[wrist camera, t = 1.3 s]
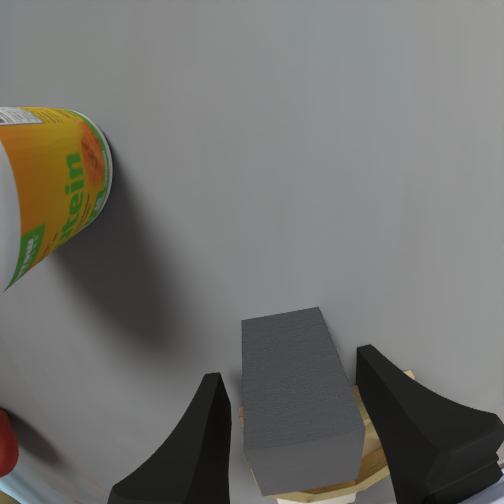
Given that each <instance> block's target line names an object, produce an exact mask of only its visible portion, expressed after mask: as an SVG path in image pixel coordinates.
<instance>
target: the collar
mask: <svg viewBox="0 0 504 504" xmlns="http://www.w3.org/2000/svg"><path fill="white" fill-rule="evenodd" d="M354 398H355V400H356V403H357V405H358V408H359V411H360V413H361V416H362V419H363V422H364V424H365V427H366V432H365V435H366V436H369V437H373V438H376V439H379V437H378V435H377V433H376V431H375V428H374V426H373V424H372V422H371V420H370V417H369V415H368V413H367V411H366V409H365V406H364V404H363V402H362V399H361V396H360V395H357V396H354ZM250 470H251V467H250ZM251 472H252V470H251ZM389 474H390V472H389V468H388V464H387V461H386V458H385V454H384V451H383V448H382V445H380V446H379V447H378V448H376V449H375V450H374V451H372V452H371V453H370V454H368V455H367V456H365V457H364V458H362V459H361V464H360V470H359V475H358V479H354V480H351V481H347V482H342V483H338V484H334V485H329V486H324V487H320V488H314V489H309V490H303V491H297V492H291V493H284V494H277V495H269V496H267V497H272V498H278V499H283V500H289V501H295V502H302V503H312V502H317V501H322V500H327V499H332V498H336V497H341V496H345V495H349V494H353V493H357V492H360V491H363V490H365V489H367V488H368V487H370V486H372V485H373V484H375V483H376V482H378V481H380V480H381V479H383V478H384V477H386V476H387V475H389ZM252 475H253V477H254V474H253V472H252ZM254 479H255V477H254ZM255 482H256V479H255ZM256 484H257V482H256ZM257 487H258V484H257ZM258 489H259V487H258ZM259 491H260V489H259ZM260 493H261V491H260ZM261 495H262V494H261Z"/></svg>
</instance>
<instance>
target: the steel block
mask: <svg viewBox="0 0 504 504" xmlns="http://www.w3.org/2000/svg"><path fill="white" fill-rule="evenodd" d="M242 380H243V427H244V452H245V455H246V457H247V460H248V462H249V465H250V467H251V470H252V472H253V474H254V477H255V479H256V482H257V484H258V487H259V489H260V491H261V494H262V496H269V495H277V494H284V493H291V492H297V491H303V490H309V489H314V488H320V487H324V486H329V485H334V484H338V483H342V482H347V481H351V480H354V479H358V475H359V470H360V464H361V458H362V452H363V446H364V439H365V432H366V427H365V424H364V422H363V419H362V416H361V413H360V411H359V408H358V405H357V403H356V400H355V398H354V395H353V392H352V390H351V387H350V385H349V382H348V379H347V377H346V374H345V372H344V369H343V367H342V364H341V362H340V359H339V356H338V354H337V351H336V349H335V346H334V344H333V341H332V339H331V337H330V334H329V332H328V329H327V327H326V324H325V322H324V319H323V317H322V315H321V312H320V310H319V307H314V308H309V309H303V310H298V311H293V312H287V313H282V314H276V315H270V316H265V317H259V318H253V319H247V320H242Z"/></svg>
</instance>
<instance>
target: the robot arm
mask: <svg viewBox="0 0 504 504" xmlns="http://www.w3.org/2000/svg"><path fill="white" fill-rule="evenodd" d="M356 383H357V386H358V390H359V393H360V396H361V399H362V402H363V404H364V406H365V409H366V411H367V413H368V415H369V417H370V420H371V422H372V424H373V426H374V428H375V431H376V433H377V435H378V437H379V440H380V442H381V445H382V448H383V451H384V454H385V458H386V461H387V464H388V468H389V472H390V476H391V479H392V484H393V488H394V492H395V497H396V502H397V504H504V468H503V469H502V470H501V469H500V467H499V465H498V463H497V461H498V460H499V457H498V455H497V454H496V452H497V450H498V449H499V447H500V446H501V444H502V443H503V441H504V424H503V423H502V421H501V420H500V418H499V417H498V416H497V415H496V414H494V413H489V412H485V411H480V410H476V409H473V408H470V407H467V406H464V405H461V404H458V403H456V402H453V401H451V400H449V399H447V398H444V397H442V396H440V395H438V394H436V393H434V392H433V391H431V390H429V389H427V388H426V387H424V386H422V385H421V384H419V383H418V382H416V381H415V380H414V379H412V378H411V377H409V376H408V375H407V374H405V373H404V372H403V371H401V370H400V369H399V368H398V367H396V366H395V365H394V364H393V363H392V362H390V361H389V360H388V359H387V358H386V357H385V356H383V355H382V354H381V353H380V352H379V351H378V350H377V349H376V348H375V347H373V346H372V345H371V344H369V345H365V346H361V347H357V365H356ZM231 426H232V422H231V404H230V401H229V398H228V395H227V392H226V389H225V386H224V383H223V380H222V377H221V374H220V372H218V373H210V374H205V375H204V377H203V379H202V381H201V384H200V386H199V388H198V390H197V392H196V394H195V396H194V398H193V399H192V401H191V403H190V405H189V407H188V408H187V410H186V412H185V413H184V415H183V417H182V418H181V420H180V421H179V423H178V424H177V426H176V427H175V429H174V430H173V431H172V433H171V434H170V435H169V437H168V438H167V439H166V440H165V442H164V443H163V444H162V445H161V446H160V447H159V448H158V449H157V451H156V452H155V453H154V454H153V455H152V456H151V457H150V458H149V459H148V460H147V461H145V462H144V463H143V464H142V465H141V466H140V467H139V468H137V469H136V470H135V471H134V472H133V473H131V474H130V475H129V476H127V477H126V478H124V479H123V480H121V481H120V482H118V483H117V484H115V485H114V486H113V487H112V490H111V492H110V495H109V499H108V503H107V504H230V497H229V478H228V468H229V454H230V441H231Z"/></svg>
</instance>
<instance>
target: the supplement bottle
mask: <svg viewBox="0 0 504 504" xmlns="http://www.w3.org/2000/svg"><path fill="white" fill-rule="evenodd" d="M112 171H113V168H112V158H111V153H110V150H109V146H108V144H107V141H106V139H105V137H104V135H103V133H102V132H101V130H100V129H99V128H98V127H97V125H96V124H95V123H94V122H93V121H92V120H90V119H89V118H88V117H86V116H85V115H83V114H81V113H79V112H76V111H73V110H69V109H62V108H42V107H0V295H1V294H2V293H3V292H4V291H5V290H6V289H8V288H9V287H10V286H11V285H12V284H14V283H15V282H16V281H17V280H18V279H19V278H21V277H22V276H23V275H24V274H25V273H26V272H28V271H29V270H30V269H31V268H32V267H34V266H35V265H36V264H37V263H39V262H40V261H42V260H43V259H44V258H45V257H46V256H48V255H49V254H50V253H52V252H53V251H54V250H55V249H57V248H58V247H59V246H61V245H62V244H63V243H65V242H66V241H67V240H69V239H70V238H72V237H73V236H74V235H76V234H77V233H79V232H80V231H81V230H83V229H84V228H85V227H87V226H88V225H89V224H90V223H91V222H92V221H93V220H94V219H95V218H96V217H97V216H98V215H99V213H100V212H101V210H102V209H103V207H104V205H105V203H106V201H107V198H108V196H109V192H110V189H111V184H112Z"/></svg>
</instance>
